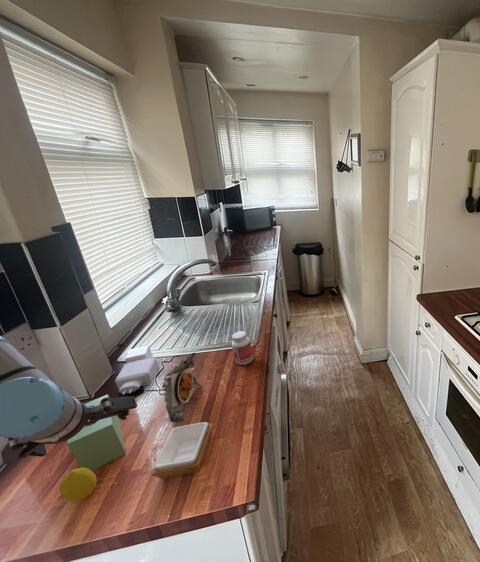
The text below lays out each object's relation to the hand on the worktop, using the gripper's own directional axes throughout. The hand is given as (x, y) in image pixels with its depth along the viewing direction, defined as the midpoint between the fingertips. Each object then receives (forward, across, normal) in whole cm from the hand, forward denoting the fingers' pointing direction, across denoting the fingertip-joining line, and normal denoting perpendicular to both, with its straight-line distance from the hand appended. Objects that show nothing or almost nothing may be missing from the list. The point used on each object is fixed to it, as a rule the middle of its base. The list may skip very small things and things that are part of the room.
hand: (85, 430), depth 69 cm
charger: (+32, +10, +14) cm, 36 cm away
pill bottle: (+23, +41, +4) cm, 47 cm away
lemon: (+6, -4, -13) cm, 14 cm away
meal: (+16, +21, -2) cm, 26 cm away
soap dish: (+2, +16, -16) cm, 23 cm away
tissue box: (+16, 0, -2) cm, 16 cm away
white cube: (+40, +13, +22) cm, 47 cm away
